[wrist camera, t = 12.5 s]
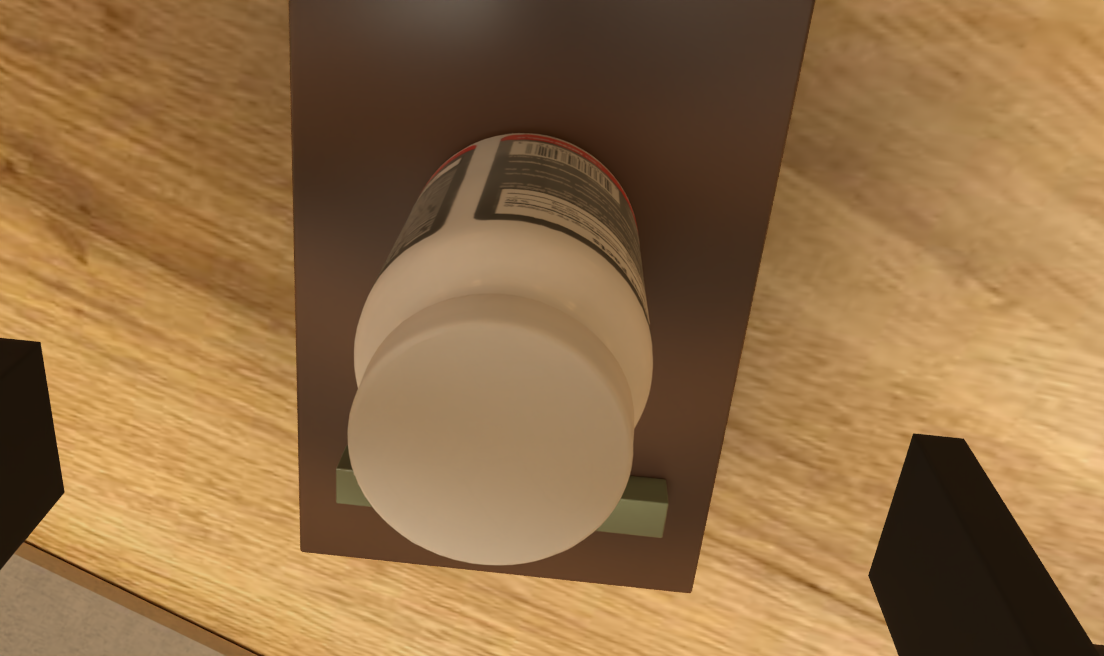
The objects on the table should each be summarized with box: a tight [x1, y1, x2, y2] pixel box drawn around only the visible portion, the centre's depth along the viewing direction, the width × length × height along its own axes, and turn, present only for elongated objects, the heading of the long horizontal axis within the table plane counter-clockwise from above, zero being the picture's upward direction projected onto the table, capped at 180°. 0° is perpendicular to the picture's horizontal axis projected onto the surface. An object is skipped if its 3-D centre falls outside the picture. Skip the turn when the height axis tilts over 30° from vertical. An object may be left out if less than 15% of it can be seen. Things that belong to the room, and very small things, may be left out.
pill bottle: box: [348, 133, 653, 565], centre depth 20 cm, size 6×6×10 cm
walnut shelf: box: [289, 0, 815, 593], centre depth 27 cm, size 22×12×7 cm, turn 174°
